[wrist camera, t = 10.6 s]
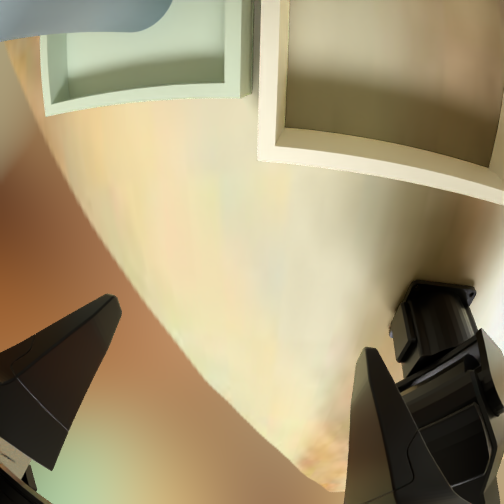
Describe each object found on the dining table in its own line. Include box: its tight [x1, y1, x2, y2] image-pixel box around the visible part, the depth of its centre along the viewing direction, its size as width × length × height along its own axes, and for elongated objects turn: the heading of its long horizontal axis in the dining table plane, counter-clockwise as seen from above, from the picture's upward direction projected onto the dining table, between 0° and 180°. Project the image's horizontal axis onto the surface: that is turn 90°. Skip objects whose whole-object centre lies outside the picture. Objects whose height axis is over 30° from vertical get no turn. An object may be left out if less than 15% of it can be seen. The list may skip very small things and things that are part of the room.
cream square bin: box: [257, 0, 504, 206], centre depth 10 cm, size 16×16×4 cm
